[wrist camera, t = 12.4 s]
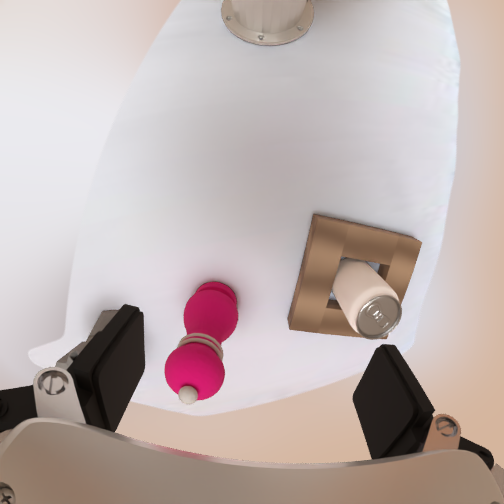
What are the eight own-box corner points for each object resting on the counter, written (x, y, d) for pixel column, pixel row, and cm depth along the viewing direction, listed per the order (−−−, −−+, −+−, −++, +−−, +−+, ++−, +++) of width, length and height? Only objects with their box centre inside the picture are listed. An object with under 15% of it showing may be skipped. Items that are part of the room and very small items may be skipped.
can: (353, 246, 38) (387, 279, 27) (377, 276, 39) (413, 315, 28) (319, 277, 39) (341, 320, 28) (345, 304, 41) (371, 351, 29)
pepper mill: (250, 298, 41) (243, 401, 22) (220, 330, 42) (198, 433, 23) (209, 268, 39) (171, 358, 20) (182, 302, 41) (135, 398, 22)
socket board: (313, 213, 37) (317, 218, 34) (412, 236, 37) (422, 242, 34) (287, 318, 42) (289, 329, 39) (379, 329, 42) (386, 339, 39)
